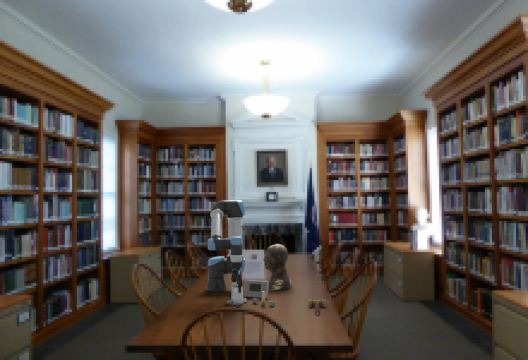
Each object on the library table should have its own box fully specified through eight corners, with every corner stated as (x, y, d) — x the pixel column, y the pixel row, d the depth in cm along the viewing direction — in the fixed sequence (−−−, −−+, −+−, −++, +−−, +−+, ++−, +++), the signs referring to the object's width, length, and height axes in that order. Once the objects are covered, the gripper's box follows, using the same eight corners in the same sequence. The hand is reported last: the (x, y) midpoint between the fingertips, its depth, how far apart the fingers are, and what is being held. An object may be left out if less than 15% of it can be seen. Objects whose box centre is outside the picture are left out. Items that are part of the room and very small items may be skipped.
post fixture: (252, 303, 243) (252, 290, 244) (254, 302, 245) (254, 289, 246) (272, 306, 236) (272, 293, 236) (274, 305, 238) (274, 292, 238)
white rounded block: (228, 304, 239) (228, 286, 240) (226, 301, 245) (226, 284, 245) (247, 302, 243) (247, 284, 243) (244, 300, 249) (244, 282, 249)
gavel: (326, 310, 216) (308, 310, 217) (326, 319, 216) (308, 318, 217) (324, 298, 237) (308, 298, 238) (325, 305, 237) (308, 305, 238)
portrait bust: (292, 280, 310) (291, 241, 311) (290, 290, 275) (289, 247, 277) (265, 279, 312) (265, 241, 314) (261, 290, 277) (260, 246, 279)
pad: (227, 303, 242) (227, 302, 242) (235, 300, 249) (235, 300, 249) (238, 305, 238) (238, 304, 238) (245, 302, 245) (245, 301, 245)
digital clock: (243, 296, 260) (243, 280, 260) (251, 293, 267) (250, 278, 268) (264, 300, 251) (264, 283, 252) (271, 296, 259) (271, 280, 259)
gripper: (247, 263, 234) (247, 299, 233) (237, 257, 258) (237, 290, 257) (235, 264, 232) (235, 300, 231) (226, 258, 256) (226, 291, 255)
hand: (236, 295), depth 244 cm, fingers open, 13 cm apart
